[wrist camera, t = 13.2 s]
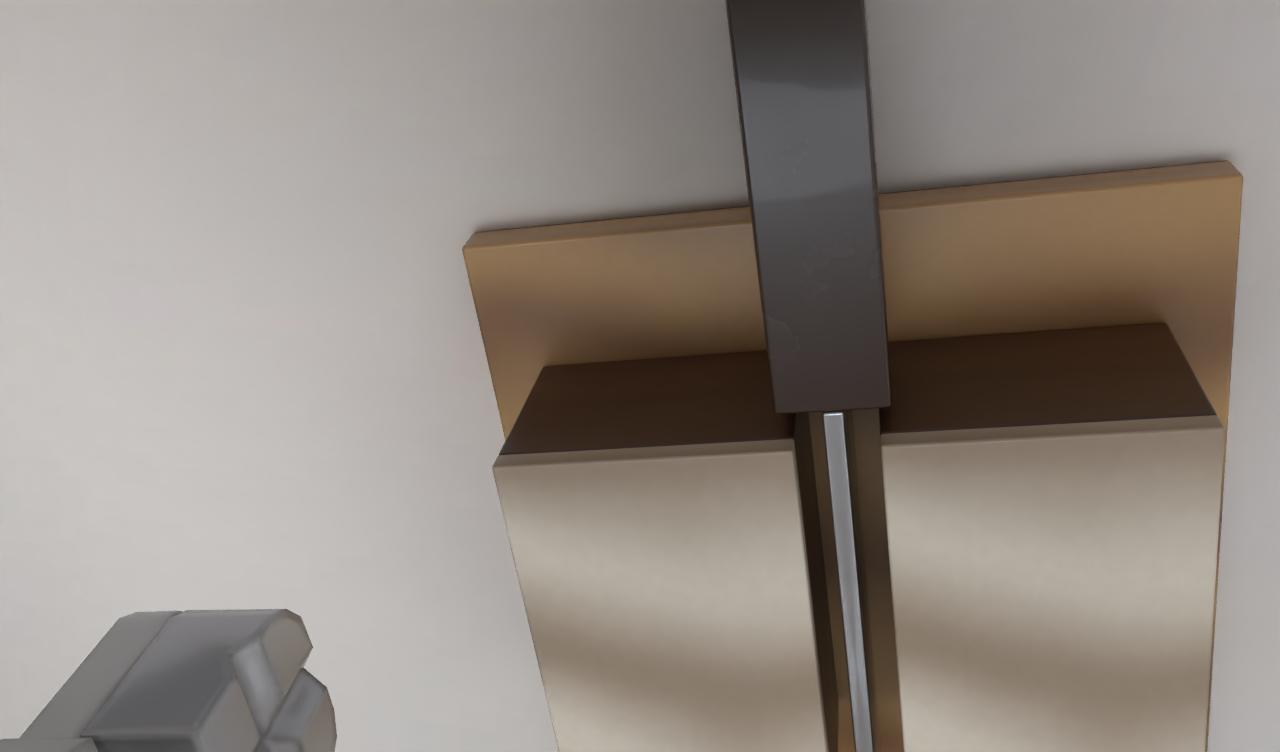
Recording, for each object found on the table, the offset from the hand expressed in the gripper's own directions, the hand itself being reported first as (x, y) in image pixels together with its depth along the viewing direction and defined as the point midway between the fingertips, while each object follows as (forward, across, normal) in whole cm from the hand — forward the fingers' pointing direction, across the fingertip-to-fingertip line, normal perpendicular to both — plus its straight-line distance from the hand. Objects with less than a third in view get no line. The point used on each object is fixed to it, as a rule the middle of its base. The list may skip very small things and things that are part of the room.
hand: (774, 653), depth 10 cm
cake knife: (+16, 0, +7) cm, 18 cm away
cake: (+17, 0, +10) cm, 20 cm away
